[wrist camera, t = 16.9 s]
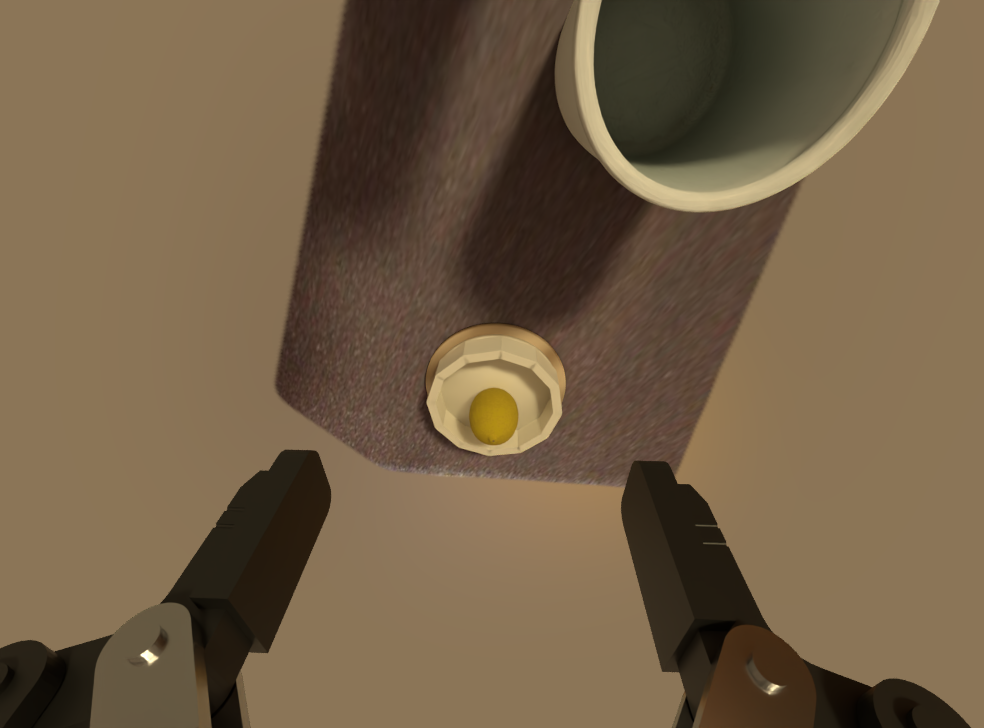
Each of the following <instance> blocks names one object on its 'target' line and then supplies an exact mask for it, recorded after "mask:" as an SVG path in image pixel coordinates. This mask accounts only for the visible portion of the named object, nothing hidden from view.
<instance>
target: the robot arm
mask: <svg viewBox="0 0 984 728" xmlns="http://www.w3.org/2000/svg"><path fill="white" fill-rule="evenodd" d="M330 503H331V489H330V485H329V483H328V480H327V477H326V474H325V471H324V468H323V465H322V462H321V460H320V457H319V454H318V452H316V451H312V450H284V451H282V452H281V453H280V454H279V456H278V457H277V459H276V460H275V462H274V463H273V465H272V466H271V468H270V470H269V471H259V472H258V473H257V474H256V475H255V476H253V477H252V478H251V479H250V480H249V481H247V482H246V483H245V484H244V485H243V486H242V487H240V489H239V490H238V492H237V494H236V495H235V496H234V498H233V499H232V501H231V502H230V504H229V505H228V507H227V511H224V513H223V514H222V516H221V517H220V519H219V520H218V522H217V523H216V527H215V528H213V529H212V530H211V532H210V533H209V535H208V536H207V538H206V539H205V541H204V542H203V544H202V545H201V547H200V548H199V550H198V551H197V553H196V554H195V555H194V557H193V558H192V560H191V561H190V563H189V564H188V566H187V567H186V569H185V570H184V572H183V573H182V575H181V576H180V578H179V579H178V581H177V582H176V584H175V585H174V587H173V588H172V590H171V591H170V593H169V594H168V595H167V596H166V598H165V599H164V600H163V601H162V602H161V603H160V604H159V605H155V606H153V607H150V608H148V609H146V610H144V611H142V612H140V613H138V614H137V615H135V616H134V617H132V618H131V619H130V620H128V621H127V622H126V623H125V624H124V625H122V626H121V627H120V628H119V629H118V630H117V631H116V632H115V633H114V634H113V635H110V636H106V637H103V638H100V639H96V640H93V641H90V642H86V643H83V644H79V645H75V646H72V647H69V648H65V649H62V650H58V651H55V652H54V651H52V650H51V649H49V648H48V647H46V646H45V645H44V644H42V643H41V642H38V641H32V640H27V641H20V642H16V643H13V644H10V645H7V646H5V647H3V648H1V649H0V728H251V727H250V721H249V715H248V708H247V702H246V696H245V690H244V683H243V677H242V673H241V671H240V670H241V668H242V666H243V664H244V661H245V659H246V657H247V655H248V653H249V652H254V653H255V652H256V653H268V652H269V649H270V647H271V645H272V642H273V640H274V638H275V635H276V633H277V631H278V628H279V626H280V624H281V621H282V619H283V617H284V614H285V612H286V610H287V607H288V605H289V603H290V600H291V598H292V596H293V593H294V591H295V589H296V586H297V584H298V582H299V579H300V577H301V575H302V572H303V570H304V568H305V565H306V563H307V561H308V558H309V556H310V554H311V551H312V549H313V547H314V544H315V542H316V540H317V537H318V535H319V533H320V530H321V528H322V525H323V523H324V521H325V519H326V516H327V514H328V511H329V508H330ZM621 513H622V521H623V526H624V529H625V533H626V537H627V540H628V544H629V548H630V551H631V556H632V560H633V563H634V567H635V571H636V575H637V578H638V582H639V586H640V590H641V594H642V597H643V601H644V605H645V609H646V612H647V616H648V620H649V623H650V627H651V631H652V635H653V639H654V642H655V646H656V650H657V654H658V657H659V661H660V665H661V669H662V671H663V672H679V673H680V676H681V679H682V683H683V686H684V689H685V692H684V694H683V696H682V699H681V702H680V705H679V708H678V711H677V714H676V717H675V720H674V723H673V726H672V728H971V727H970V726H969V725H968V724H967V723H966V722H965V721H964V719H963V718H962V717H961V716H960V715H959V714H958V713H957V712H956V711H954V710H953V709H952V708H951V707H950V706H949V705H948V704H947V703H945V702H944V701H943V700H941V699H940V698H939V697H937V696H936V695H935V694H933V693H931V692H930V691H928V690H926V689H925V688H923V687H921V686H918V685H917V684H914V683H912V682H908V681H906V680H901V679H886V680H883V681H882V682H880V683H878V684H877V685H875V686H874V687H870V686H868V685H865V684H862V683H860V682H857V681H854V680H852V679H849V678H846V677H843V676H841V675H838V674H836V673H833V672H830V671H828V670H825V669H823V668H820V667H818V666H815V665H813V664H811V663H809V662H807V661H805V660H804V659H802V658H801V657H800V656H799V655H798V654H797V652H796V651H795V650H794V649H793V648H792V647H791V646H790V645H789V644H787V643H786V642H785V641H784V640H783V639H781V638H780V637H779V636H777V635H776V634H774V633H773V632H772V631H771V630H770V628H769V627H768V625H767V624H766V622H765V620H764V619H763V617H762V615H761V613H760V611H759V609H758V607H757V605H756V602H755V600H754V598H753V596H752V594H751V592H750V590H749V588H748V586H747V584H746V582H745V580H744V578H743V576H742V574H741V571H740V569H739V568H738V565H737V563H736V561H735V559H734V557H733V555H732V553H731V551H730V549H729V547H727V546H726V540H725V539H724V537H723V534H722V532H721V530H720V529H719V528H718V527H717V522H716V520H715V518H714V516H713V514H712V512H711V510H710V507H709V506H708V503H707V502H706V501H705V500H704V499H703V498H702V497H701V496H700V495H699V494H698V492H697V491H696V490H695V489H694V488H693V487H692V486H691V485H689V484H677V481H676V479H675V477H674V474H673V472H672V470H671V468H670V466H669V464H668V463H667V462H664V461H634V462H633V464H632V466H631V470H630V473H629V476H628V480H627V483H626V487H625V490H624V494H623V497H622V502H621Z"/></svg>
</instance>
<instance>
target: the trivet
mask: <svg viewBox="0 0 984 728" xmlns="http://www.w3.org/2000/svg"><path fill="white" fill-rule="evenodd" d="M489 334H502V335H508V336H513V337H517V338H520V339H522V340H525V341H527V342H529V343H530V344H532V345H534V346H535V347H537V348H538V349H539V350H541V351H542V352H543V353H544V354H545V355H546V357H547V358H548V359H549V360H550V362H551V364H552V365H553V367H554V368H555V369H556V371H557V377H558V382H559V389H560V398H561V403H562V401H563V398H564V394H565V388H566V379H565V373H564V368H563V365H562V362H561V360H560V358H559V356H558V354H557V353H556V352H555V350H554V349H553V348H552V346H551V345H550V344H549V343H548V342H547V341H545V340H544V339H543V338H541V337H540V336H539V335H537V334H535V333H533V332H532V331H530V330H527V329H525V328H522V327H519V326H515V325H511V324H505V323H485V324H479V325H474V326H470V327H467V328H464V329H462V330H460V331H458V332H456V333H454V334H453V335H451V336H450V337H448V338H447V339H446V340H445V341H444V342H443V343H441V345H440V346H439V347H438V348H437V349H436V351H435V352H434V354H433V356H432V358H431V360H430V362H429V365H428V369H427V373H426V390H427V394H429V391H430V387H431V384H432V381H433V378H434V375H435V372H436V369H437V366H438V364H439V361H440V360H441V359H442V358H443V356H444V355H445V354H446V353H447V352H448V351H449V350H450V349H452V348H453V347H454V346H456V345H457V344H459V343H460V342H463V341H465V340H467V339H470V338H473V337H476V336H481V335H489Z"/></svg>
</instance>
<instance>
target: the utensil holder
mask: <svg viewBox="0 0 984 728" xmlns="http://www.w3.org/2000/svg"><path fill="white" fill-rule="evenodd" d="M939 1H940V0H574V1H573V4H572V6H571V8H570V10H569V13H568V16H567V18H566V21H565V23H564V26H563V29H562V32H561V35H560V39H559V43H558V48H557V53H556V61H555V89H556V96H557V101H558V105H559V108H560V111H561V114H562V117H563V119H564V121H565V123H566V125H567V127H568V129H569V130H570V132H571V133H572V135H573V136H574V137H575V139H576V140H577V141H578V142H579V143H580V144H581V145H582V146H583V147H584V148H585V149H586V150H587V151H588V152H589V153H590V154H592V155H593V156H594V157H595V158H597V159H598V160H599V161H600V162H601V164H602V165H603V166H604V168H605V169H606V170H607V171H608V172H609V173H610V175H611V176H612V177H613V178H614V179H616V180H617V181H618V182H619V183H620V184H621V185H623V186H624V187H625V188H626V189H628V190H629V191H631V192H632V193H634V194H635V195H637V196H638V197H640V198H642V199H644V200H646V201H648V202H650V203H653V204H655V205H658V206H661V207H664V208H668V209H672V210H677V211H684V212H696V213H698V212H716V211H723V210H729V209H734V208H738V207H741V206H745V205H748V204H752V203H754V202H757V201H760V200H762V199H765V198H767V197H770V196H772V195H774V194H776V193H778V192H780V191H782V190H784V189H786V188H787V187H789V186H791V185H793V184H794V183H796V182H798V181H799V180H801V179H803V178H804V177H806V176H807V175H809V174H810V173H812V172H813V171H815V170H816V169H817V168H819V167H820V166H821V165H823V164H824V163H825V162H826V161H827V160H829V159H830V158H831V157H832V156H833V155H835V154H836V153H837V152H838V151H839V150H840V149H842V147H844V146H845V145H846V144H847V143H848V142H849V141H850V140H851V139H852V138H853V137H854V136H855V135H856V134H857V133H858V132H859V131H860V130H861V129H862V127H864V125H865V124H866V123H867V122H868V121H869V120H870V119H871V117H872V116H873V115H874V114H875V113H876V111H877V110H878V109H879V108H880V106H881V105H882V104H883V102H884V101H885V100H886V98H887V97H888V96H889V94H890V93H891V91H892V90H893V88H894V87H895V86H896V84H897V83H898V81H899V79H900V78H901V77H902V75H903V74H904V72H905V70H906V69H907V67H908V65H909V63H910V62H911V60H912V59H913V57H914V55H915V53H916V51H917V49H918V48H919V46H920V44H921V42H922V40H923V38H924V36H925V34H926V32H927V30H928V28H929V25H930V23H931V21H932V18H933V16H934V13H935V11H936V8H937V6H938V3H939Z"/></svg>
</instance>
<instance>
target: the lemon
mask: <svg viewBox="0 0 984 728" xmlns="http://www.w3.org/2000/svg"><path fill="white" fill-rule="evenodd" d="M518 416H519V414H518V408H517V404H516V402H515V400H514V398H513V397H512V396H511V395H510V394H509V393H508V392H507V391H505V390H503V389H500V388H488V389H485V390H483V391H481V392H480V393H478V395H477V396H476V397H475V398H474V400H473V402H472V403H471V406H470V411H469V421H470V427H471V430H472V432H473V434H474V435H475V437H476V438H477V439H478V440H479V441H481V442H482V443H484V444H487V445H500V444H503V443H505V442H507V441H508V440H509V439H510V438H511V437H512V436H513V434H514V432H515V430H516V428H517V424H518Z"/></svg>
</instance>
